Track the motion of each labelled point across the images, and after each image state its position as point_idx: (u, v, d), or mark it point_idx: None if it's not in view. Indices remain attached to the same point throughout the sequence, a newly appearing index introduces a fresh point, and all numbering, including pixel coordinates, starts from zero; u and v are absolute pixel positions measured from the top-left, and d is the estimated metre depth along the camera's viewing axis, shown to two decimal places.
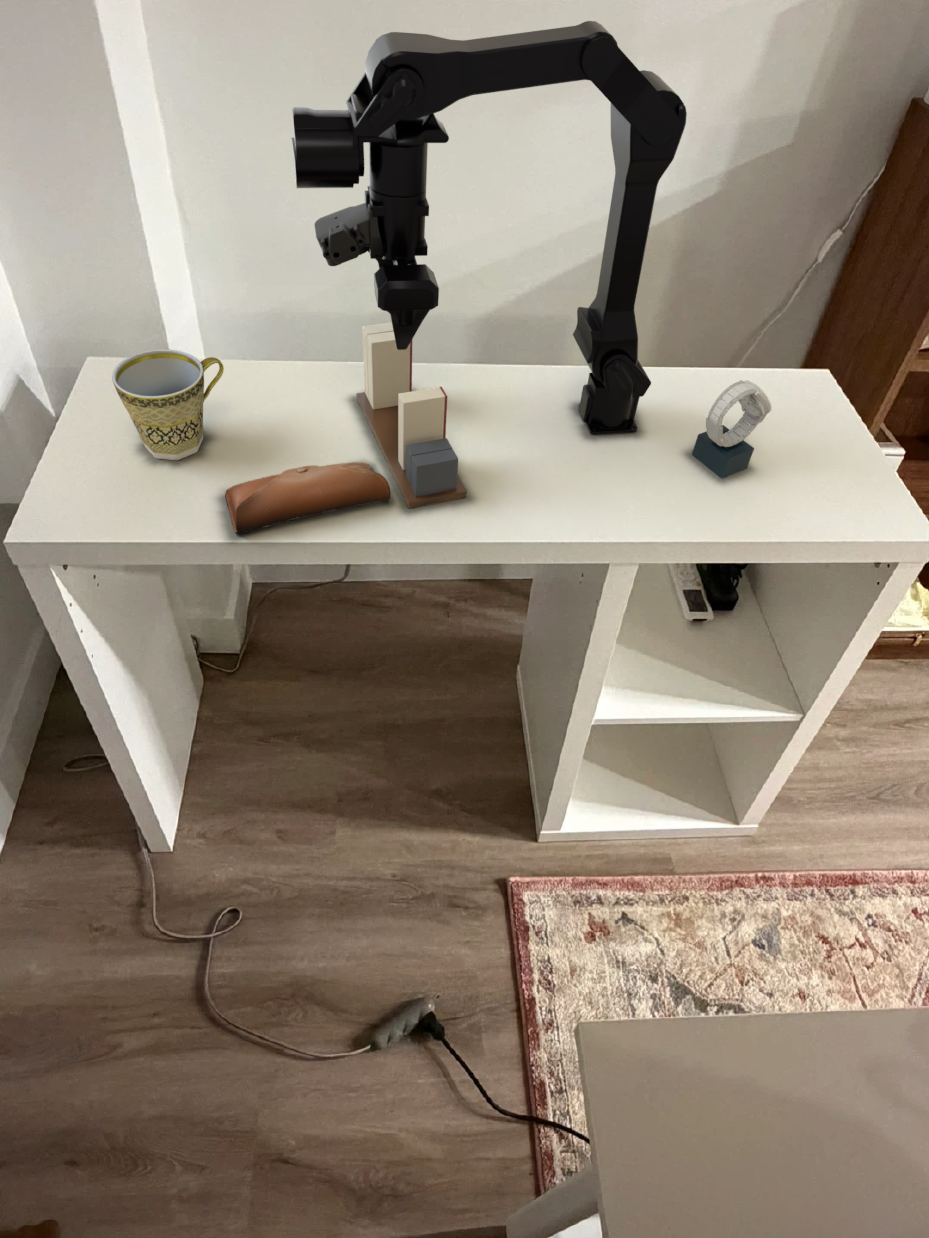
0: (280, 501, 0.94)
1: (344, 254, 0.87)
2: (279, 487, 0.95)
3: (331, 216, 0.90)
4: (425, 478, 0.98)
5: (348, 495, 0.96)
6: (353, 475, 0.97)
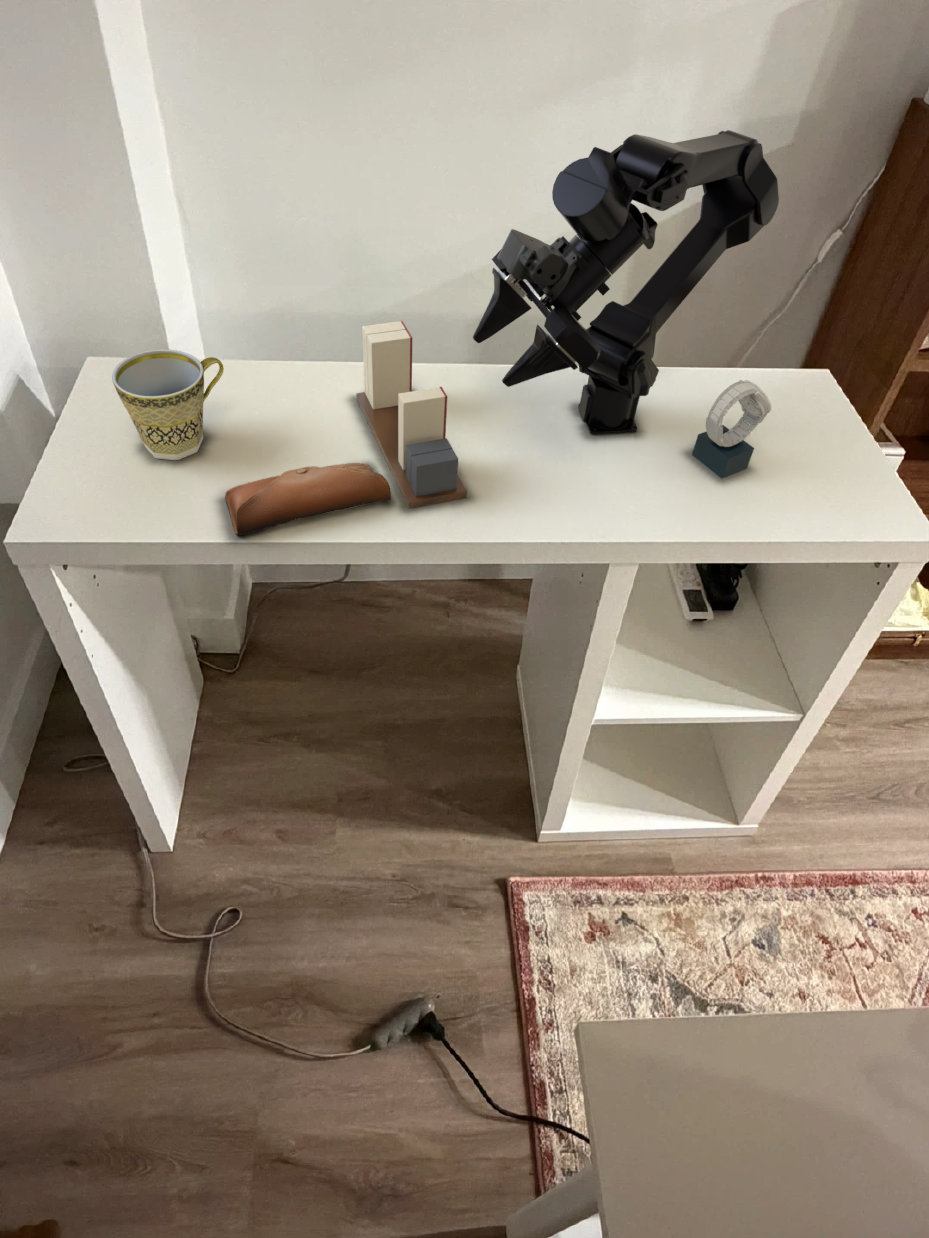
0: (281, 503, 0.94)
1: (544, 276, 0.87)
2: (280, 488, 0.95)
3: (525, 235, 0.89)
4: (425, 478, 0.98)
5: (348, 496, 0.96)
6: (353, 476, 0.97)
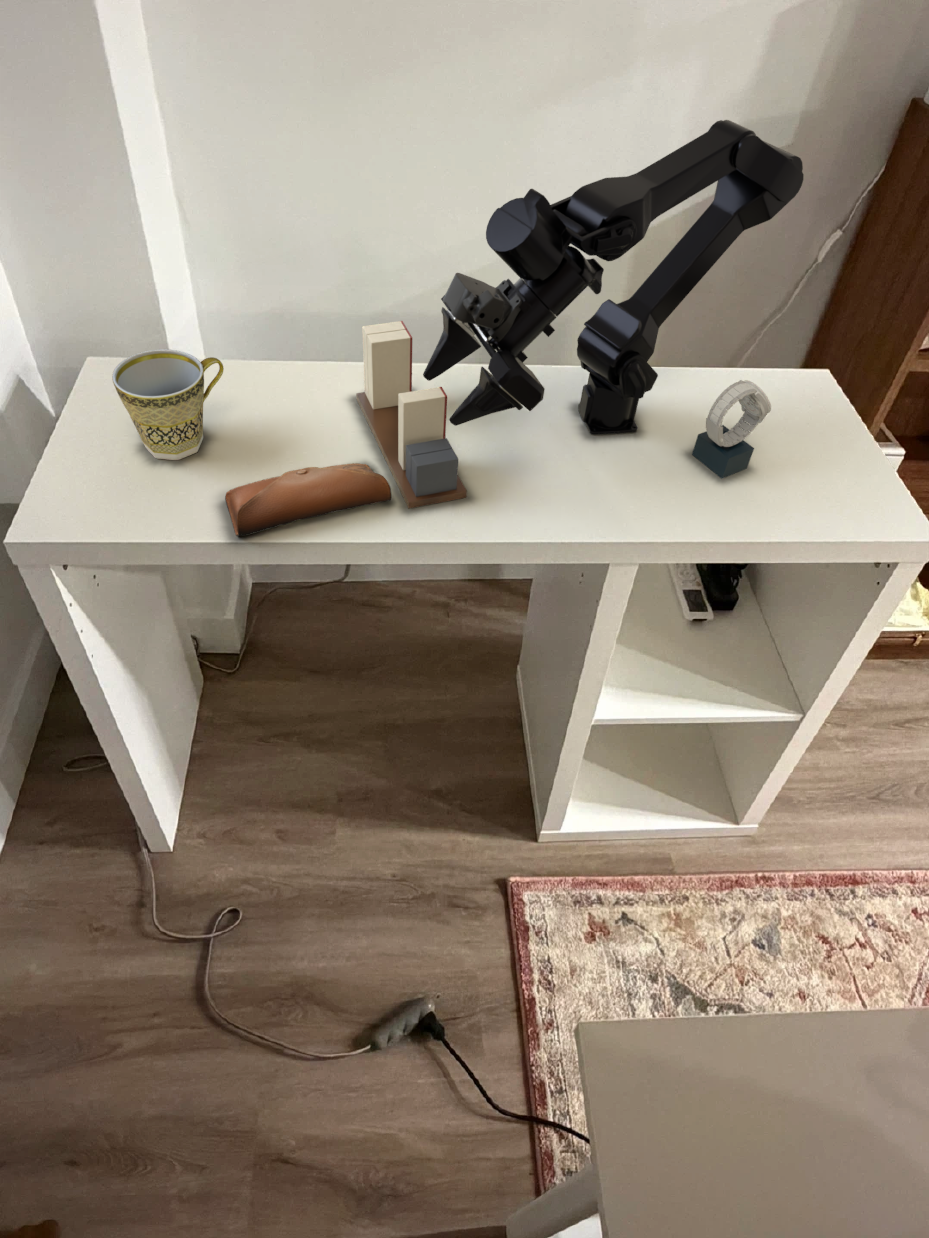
0: (281, 504, 0.94)
1: (487, 319, 0.88)
2: (280, 489, 0.95)
3: (470, 278, 0.91)
4: (425, 478, 0.98)
5: (349, 496, 0.96)
6: (354, 476, 0.97)
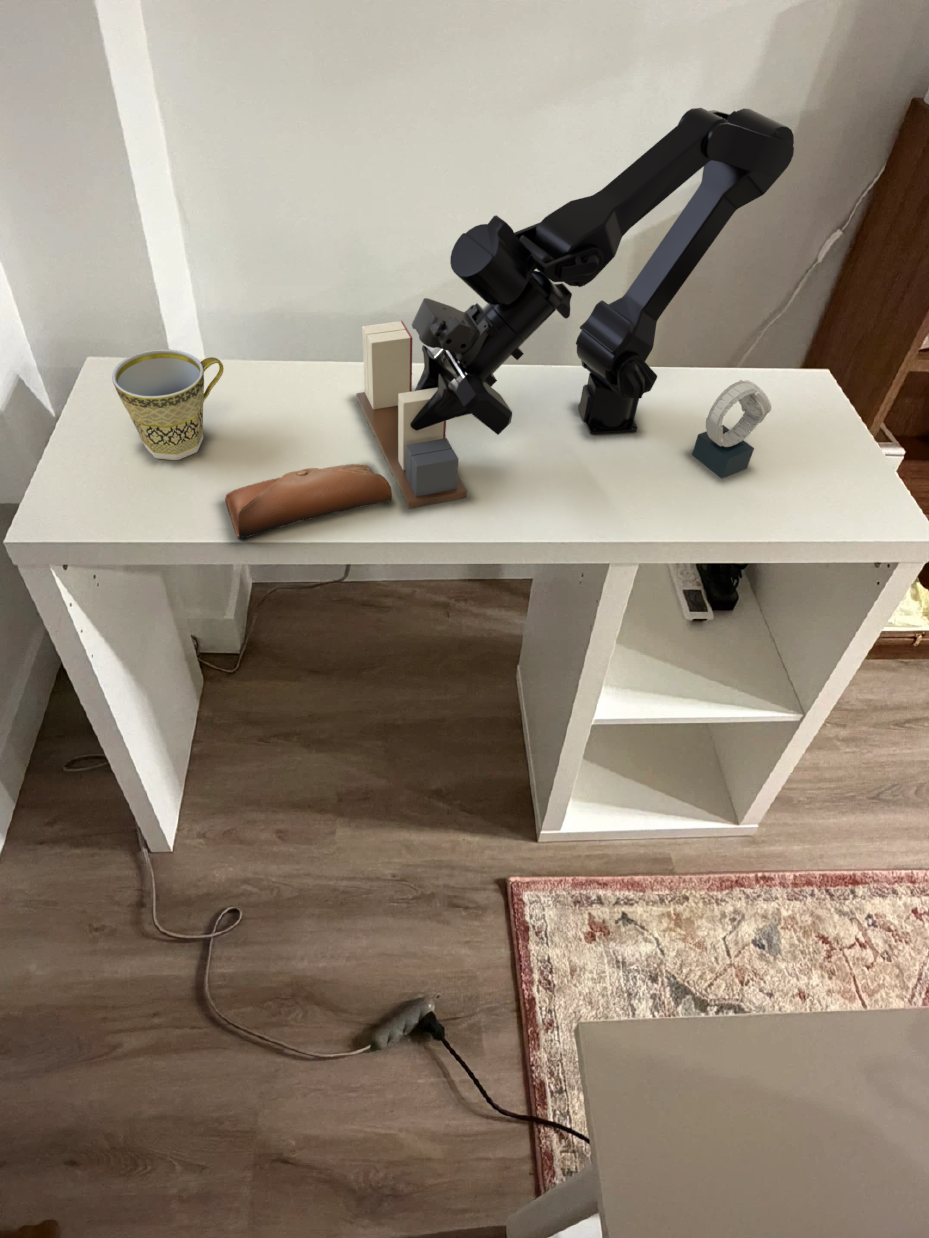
0: (282, 505, 0.94)
1: (454, 345, 0.89)
2: (281, 490, 0.95)
3: (438, 304, 0.92)
4: (425, 478, 0.98)
5: (349, 497, 0.96)
6: (354, 477, 0.97)
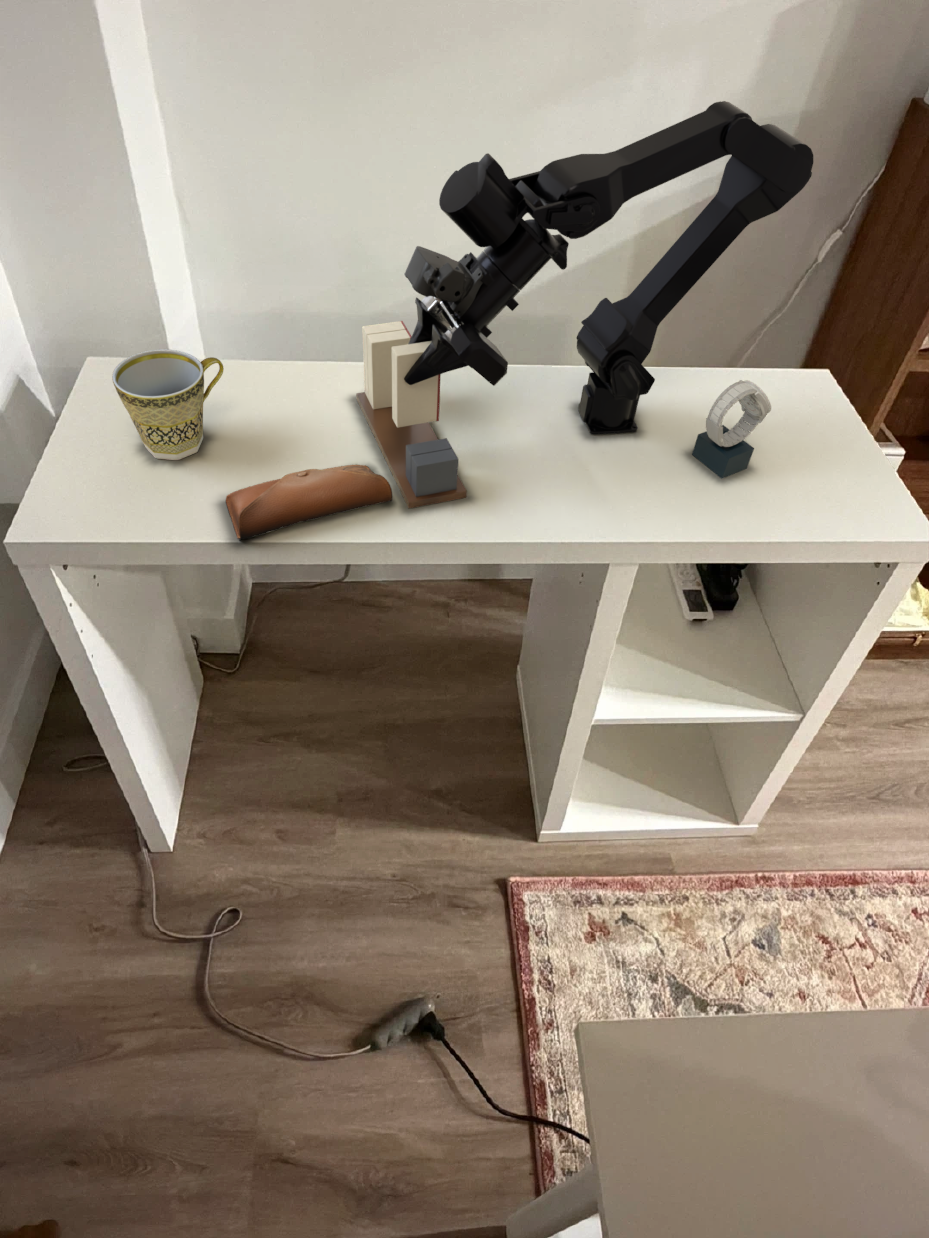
0: (283, 506, 0.94)
1: (448, 293, 0.87)
2: (282, 491, 0.94)
3: (431, 252, 0.90)
4: (425, 478, 0.98)
5: (350, 498, 0.96)
6: (355, 477, 0.97)
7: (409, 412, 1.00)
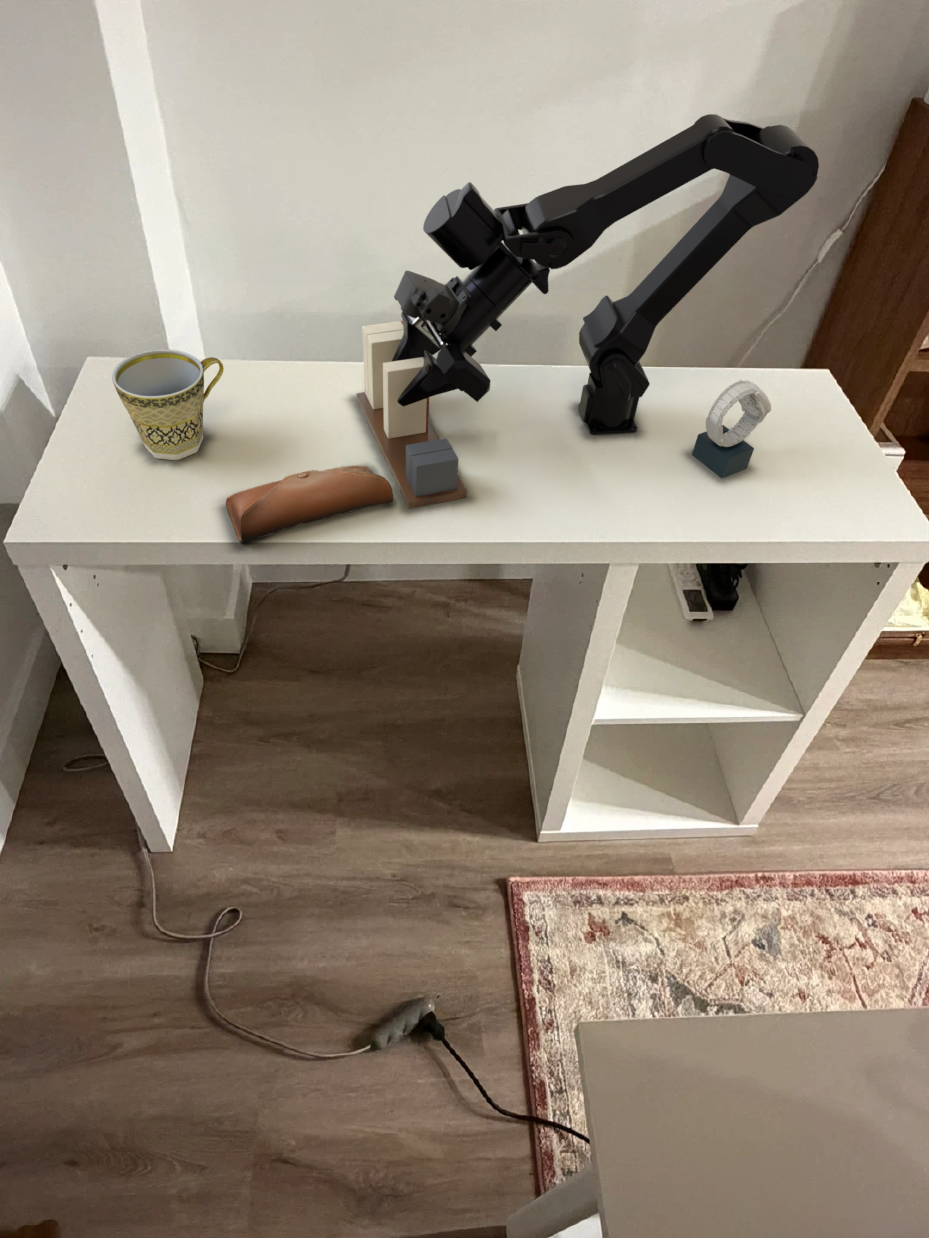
0: (284, 508, 0.94)
1: (434, 315, 0.93)
2: (283, 493, 0.94)
3: (419, 276, 0.96)
4: (425, 478, 0.98)
5: (351, 499, 0.96)
6: (355, 478, 0.97)
7: (400, 424, 1.06)
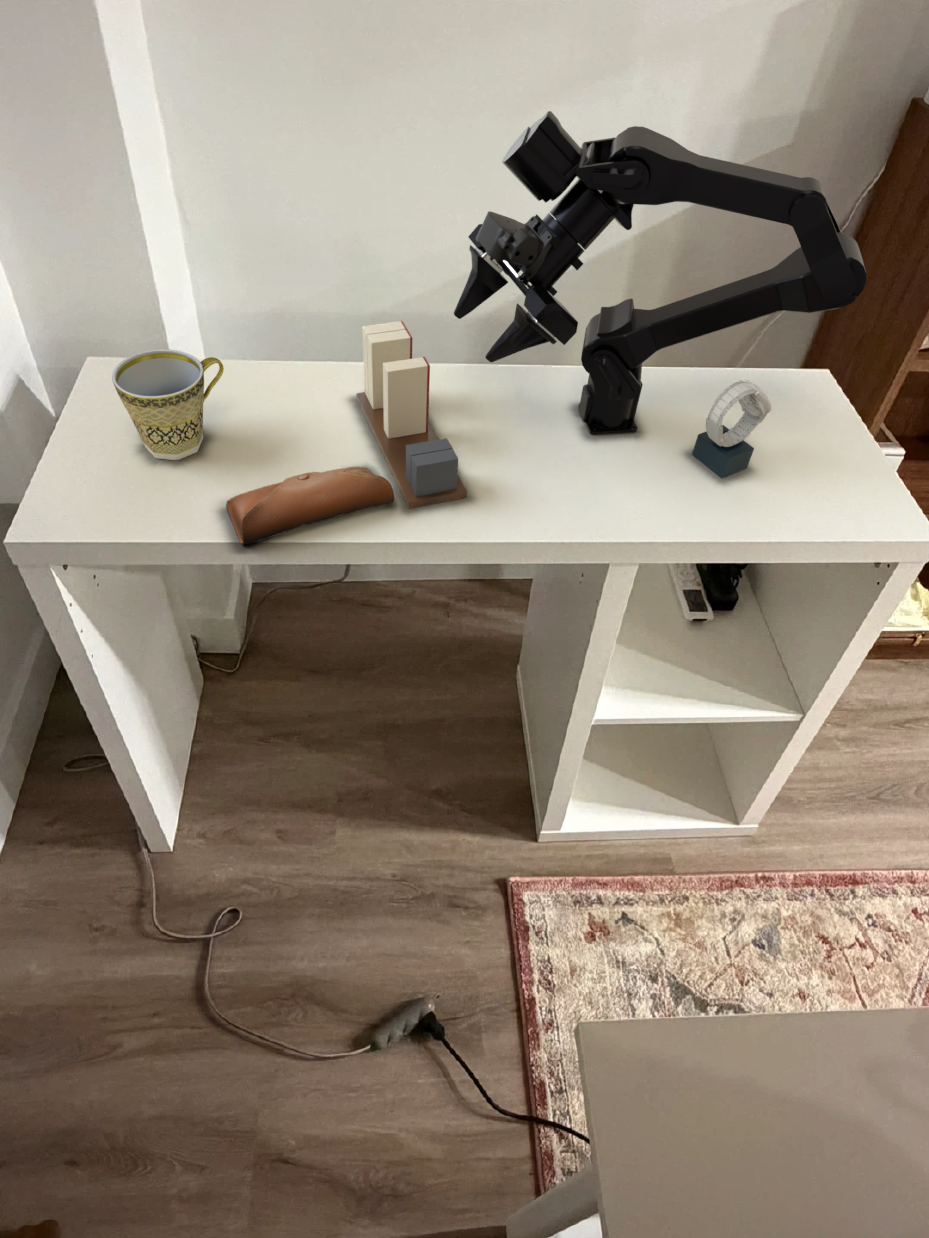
0: (285, 510, 0.93)
1: (522, 257, 0.91)
2: (284, 495, 0.94)
3: (501, 216, 0.93)
4: (425, 478, 0.98)
5: (352, 500, 0.96)
6: (356, 480, 0.96)
7: (400, 424, 1.06)
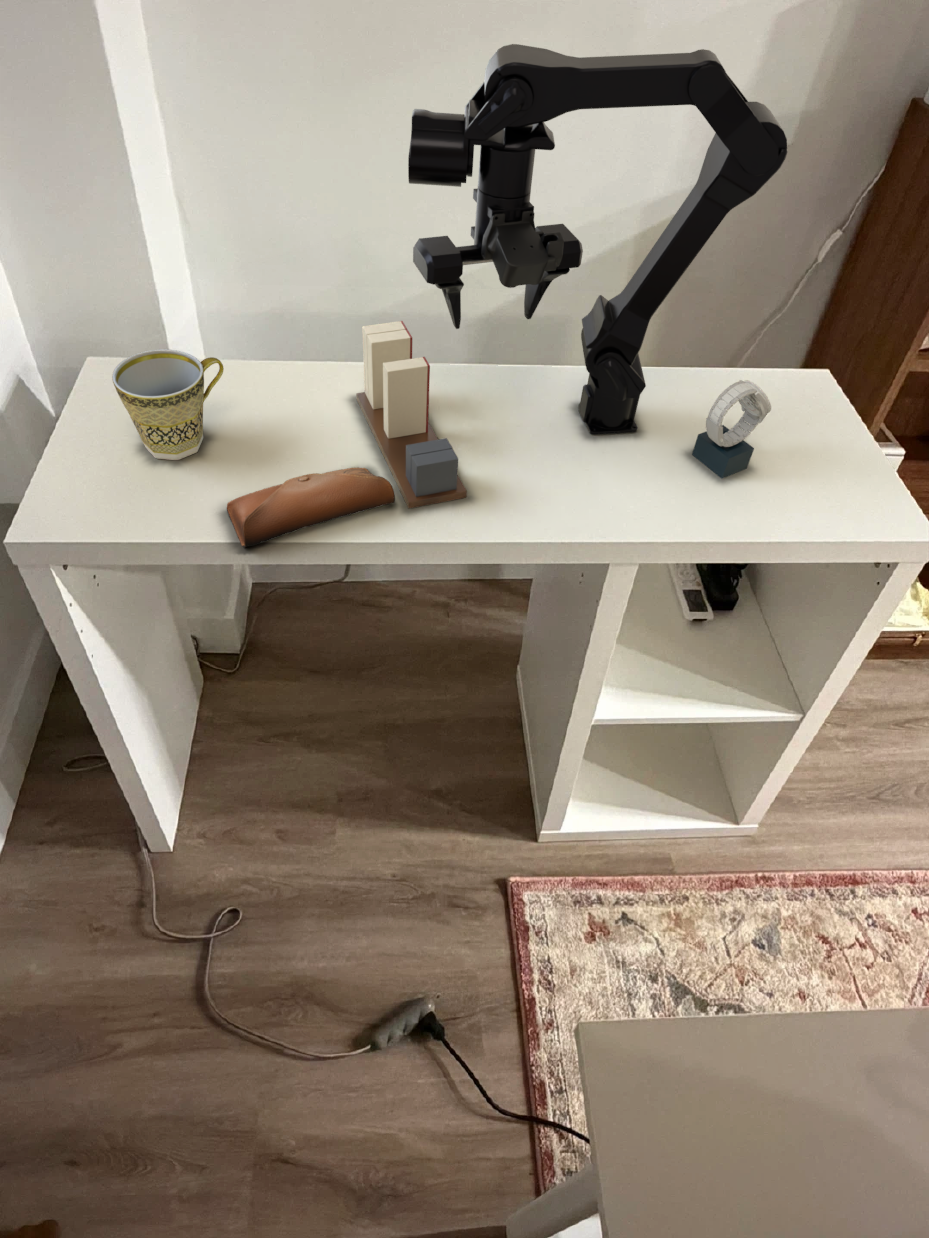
0: (287, 512, 0.93)
1: None
2: (285, 497, 0.94)
3: (508, 252, 0.90)
4: (425, 478, 0.98)
5: (353, 501, 0.96)
6: (357, 481, 0.96)
7: (400, 424, 1.06)
